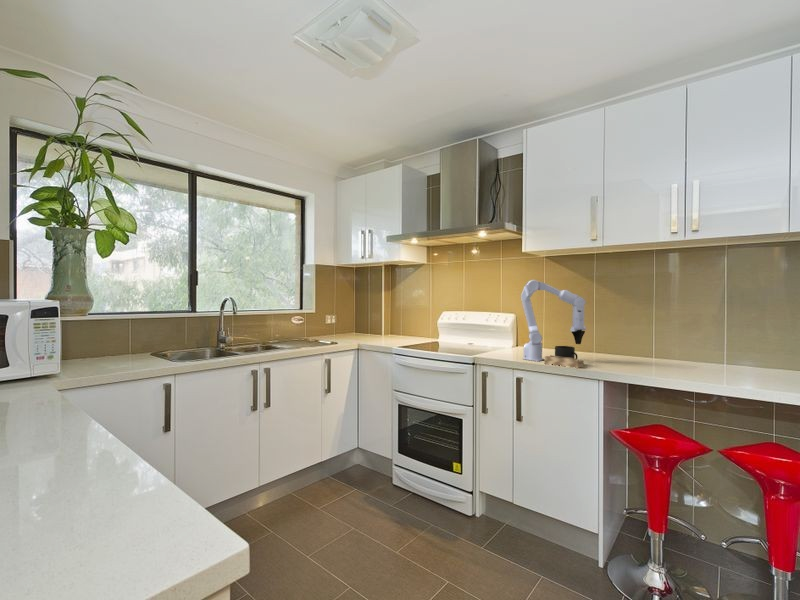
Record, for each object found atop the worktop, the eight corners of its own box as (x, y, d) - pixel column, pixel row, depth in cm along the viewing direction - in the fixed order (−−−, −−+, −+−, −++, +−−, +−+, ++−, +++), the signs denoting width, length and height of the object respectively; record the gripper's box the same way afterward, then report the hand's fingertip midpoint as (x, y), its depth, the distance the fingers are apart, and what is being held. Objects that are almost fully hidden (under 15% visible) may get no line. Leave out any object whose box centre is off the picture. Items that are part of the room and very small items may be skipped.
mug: (571, 367, 198) (571, 349, 198) (550, 363, 208) (551, 346, 208) (583, 365, 203) (583, 347, 203) (562, 362, 213) (562, 345, 213)
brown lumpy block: (544, 364, 207) (544, 355, 207) (550, 362, 212) (550, 353, 212) (577, 368, 195) (577, 359, 195) (583, 366, 200) (583, 357, 200)
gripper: (580, 319, 207) (580, 345, 208) (591, 318, 217) (591, 343, 217) (566, 319, 213) (566, 344, 213) (578, 318, 222) (578, 342, 223)
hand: (578, 344), depth 215 cm, fingers closed
